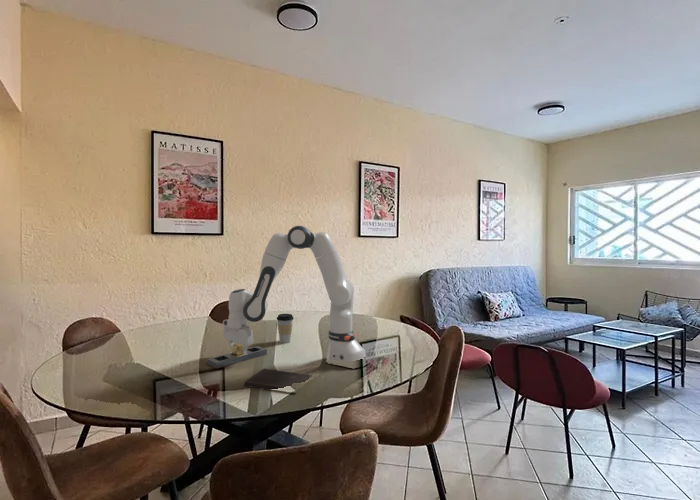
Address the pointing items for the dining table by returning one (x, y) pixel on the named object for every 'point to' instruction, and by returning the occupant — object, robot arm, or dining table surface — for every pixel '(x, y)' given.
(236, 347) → the block
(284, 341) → the coffee cup
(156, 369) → the dining table surface
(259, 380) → the hardcover book
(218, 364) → the grey slotted tray
